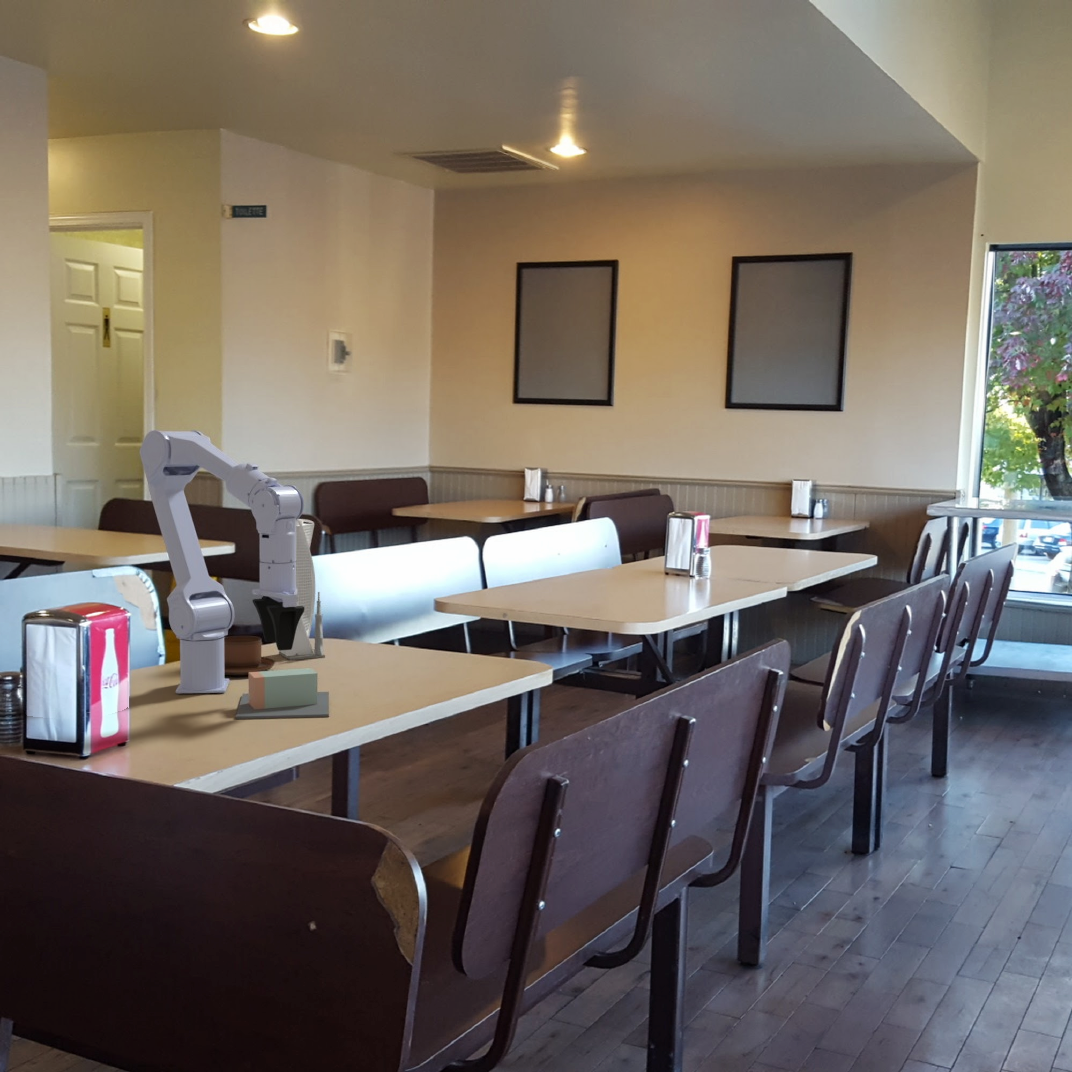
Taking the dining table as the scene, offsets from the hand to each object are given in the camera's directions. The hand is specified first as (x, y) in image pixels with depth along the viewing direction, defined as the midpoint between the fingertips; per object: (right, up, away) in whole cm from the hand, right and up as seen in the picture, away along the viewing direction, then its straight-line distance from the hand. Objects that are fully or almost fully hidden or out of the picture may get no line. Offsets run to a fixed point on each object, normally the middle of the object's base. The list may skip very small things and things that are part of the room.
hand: (278, 645), depth 196 cm
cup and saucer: (-12, -7, +25) cm, 29 cm away
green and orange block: (+1, -9, -1) cm, 9 cm away
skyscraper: (-5, -6, +41) cm, 42 cm away
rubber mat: (+1, -10, -1) cm, 10 cm away
